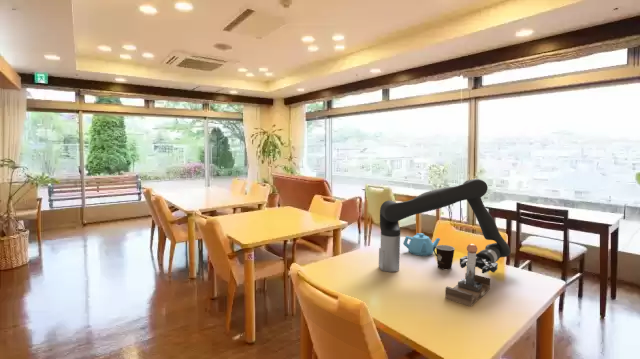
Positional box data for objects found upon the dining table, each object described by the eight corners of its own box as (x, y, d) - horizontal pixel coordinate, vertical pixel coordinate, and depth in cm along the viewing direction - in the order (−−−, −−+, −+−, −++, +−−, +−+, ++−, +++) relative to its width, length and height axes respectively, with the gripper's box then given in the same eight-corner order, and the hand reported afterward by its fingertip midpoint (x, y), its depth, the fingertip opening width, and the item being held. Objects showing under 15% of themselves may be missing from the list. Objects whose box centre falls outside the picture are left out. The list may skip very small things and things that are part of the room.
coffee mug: (456, 270, 171) (457, 250, 170) (438, 270, 171) (439, 250, 170) (448, 262, 182) (449, 243, 181) (431, 262, 182) (432, 243, 181)
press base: (471, 306, 134) (472, 295, 133) (445, 298, 141) (445, 287, 140) (491, 289, 150) (491, 278, 149) (466, 282, 157) (466, 272, 156)
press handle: (477, 292, 142) (480, 247, 140) (457, 286, 147) (460, 243, 145) (482, 288, 145) (484, 244, 143) (462, 282, 151) (464, 240, 149)
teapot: (417, 246, 209) (418, 228, 208) (440, 252, 197) (441, 234, 196) (401, 251, 199) (401, 233, 198) (424, 258, 188) (425, 238, 186)
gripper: (469, 247, 162) (455, 255, 150) (503, 254, 152) (490, 263, 141) (469, 263, 163) (454, 272, 151) (502, 270, 153) (489, 281, 142)
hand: (472, 268), depth 146 cm, fingers open, 8 cm apart
